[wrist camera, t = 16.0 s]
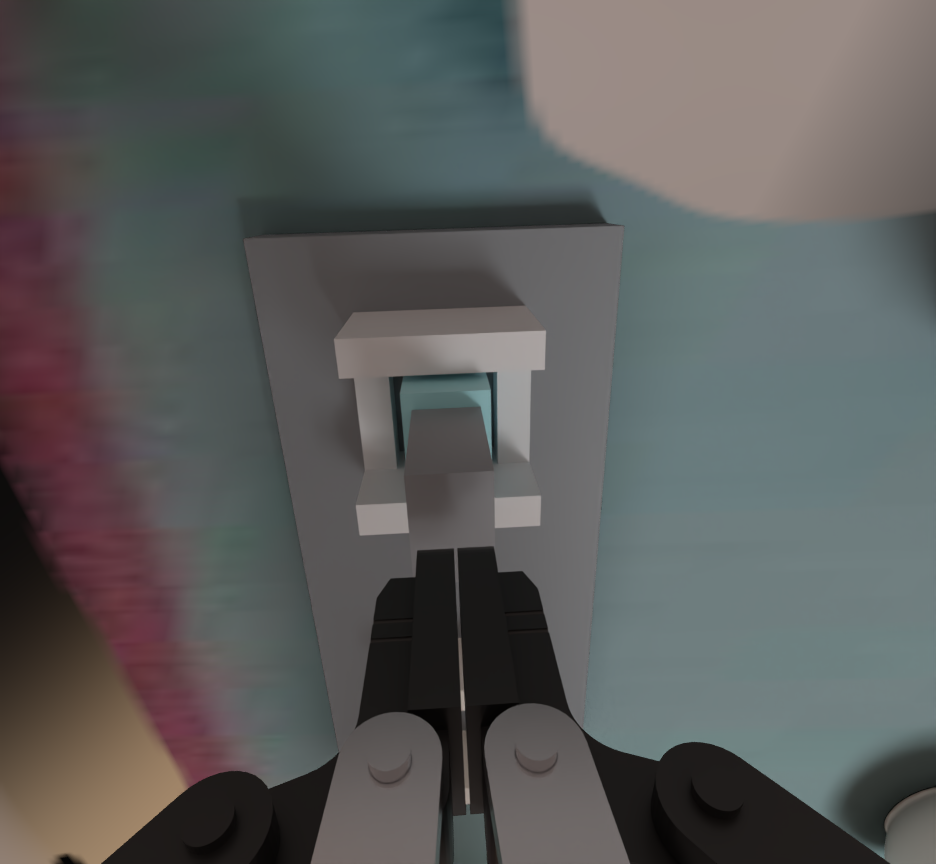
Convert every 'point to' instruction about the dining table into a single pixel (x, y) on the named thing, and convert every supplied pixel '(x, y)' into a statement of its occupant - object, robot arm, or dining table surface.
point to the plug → (448, 462)
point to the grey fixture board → (430, 353)
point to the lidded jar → (912, 830)
